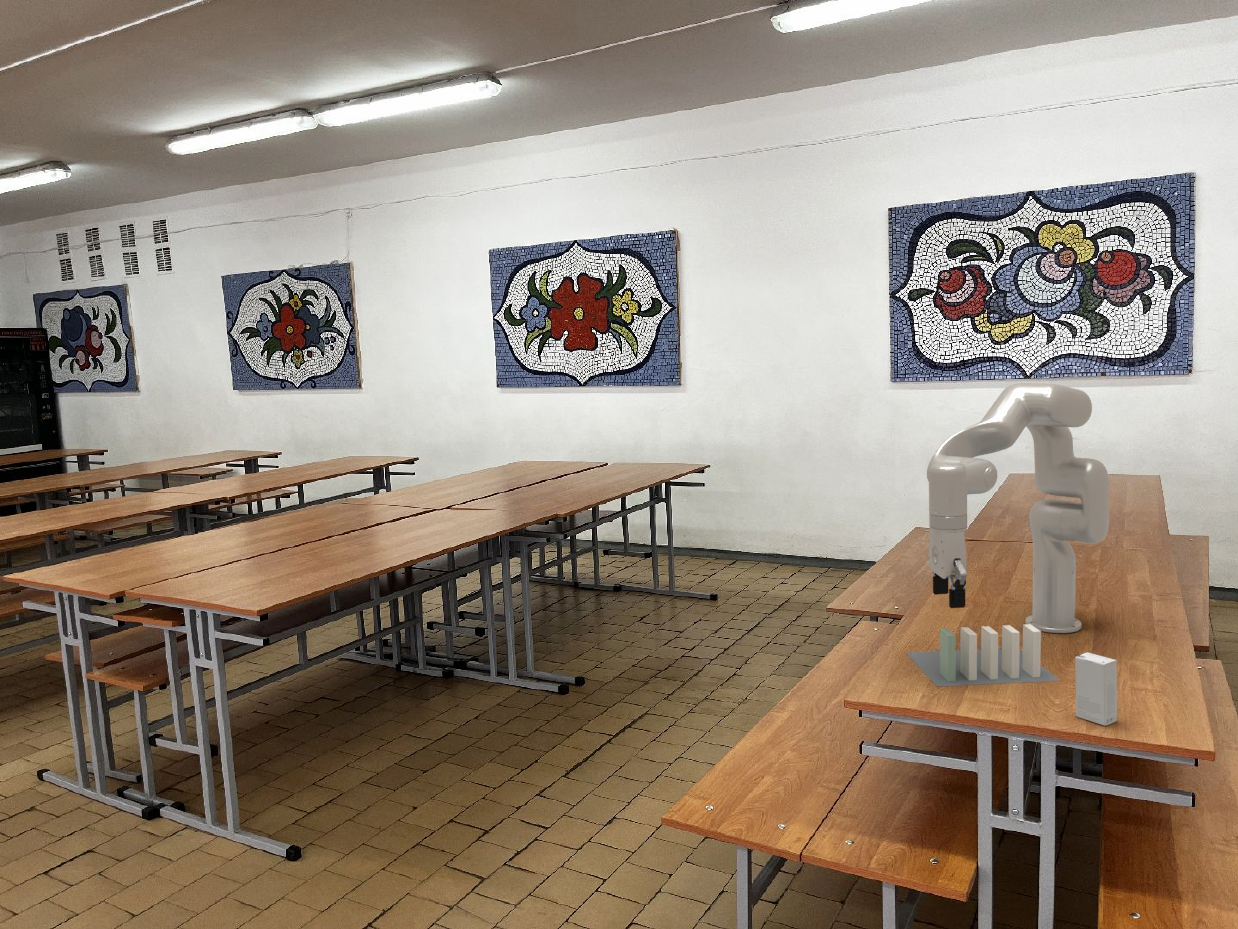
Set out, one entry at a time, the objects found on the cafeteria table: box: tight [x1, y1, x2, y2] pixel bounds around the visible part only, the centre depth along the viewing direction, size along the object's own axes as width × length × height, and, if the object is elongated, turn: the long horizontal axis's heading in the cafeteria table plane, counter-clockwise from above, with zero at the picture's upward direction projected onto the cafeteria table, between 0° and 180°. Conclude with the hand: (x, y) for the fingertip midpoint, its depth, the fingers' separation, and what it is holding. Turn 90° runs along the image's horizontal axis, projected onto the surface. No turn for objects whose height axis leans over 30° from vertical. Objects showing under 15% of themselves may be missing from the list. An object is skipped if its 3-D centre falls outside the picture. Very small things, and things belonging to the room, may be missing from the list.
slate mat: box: [905, 647, 1062, 688], centre depth 206 cm, size 26×21×1 cm
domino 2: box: [980, 625, 999, 679], centre depth 200 cm, size 2×5×10 cm, turn 0°
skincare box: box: [1074, 652, 1118, 727], centre depth 176 cm, size 6×4×12 cm
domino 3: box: [1001, 624, 1021, 678], centre depth 200 cm, size 2×5×10 cm, turn 0°
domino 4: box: [1022, 623, 1042, 677], centre depth 200 cm, size 2×5×10 cm, turn 1°
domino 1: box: [960, 626, 978, 680], centre depth 200 cm, size 2×5×10 cm, turn 0°
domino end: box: [939, 627, 957, 681], centre depth 200 cm, size 2×5×10 cm, turn 1°
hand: (948, 600), depth 198 cm, fingers open, 9 cm apart
